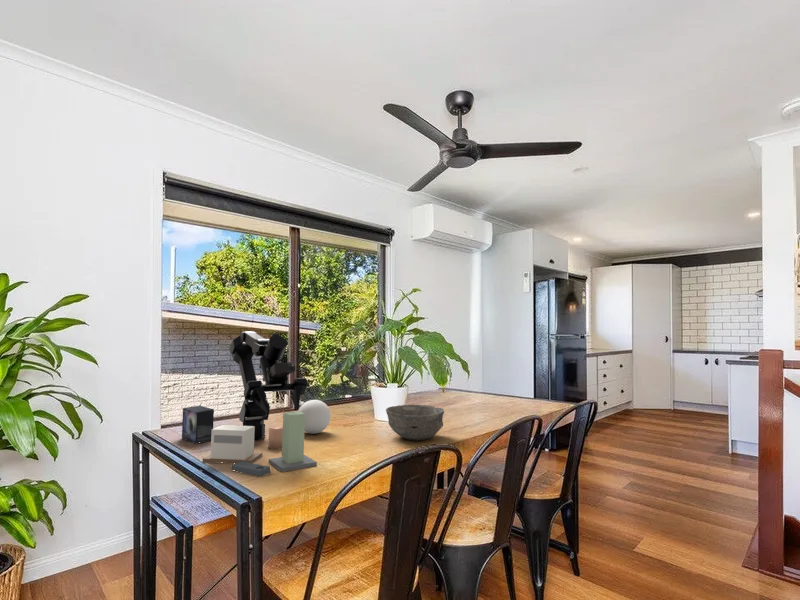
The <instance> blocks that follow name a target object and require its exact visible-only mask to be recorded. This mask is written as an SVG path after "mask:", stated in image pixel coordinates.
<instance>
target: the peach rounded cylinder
mask: <svg viewBox="0 0 800 600" xmlns="http://www.w3.org/2000/svg"><path fill="white" fill-rule="evenodd" d="M282 438H283V425H278V426H277V425H276V426H271V427H269V428H268V449H271V450H279V448H280V449H282Z"/></svg>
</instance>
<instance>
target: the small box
mask: <svg viewBox="0 0 800 600" xmlns="http://www.w3.org/2000/svg"><path fill="white" fill-rule="evenodd" d="M214 415H215V409H214V408H210V407H207V406H203V405H196V406H195V405H194V406H187V407H183V408H182V420H181V421H182V423H181V424H182V425H181V439H183V438H184V439H183V440H185V439H186V441H188V440H189V441H188V442H190V441H191V442H190V443H193V442H194V443H193V444H195V443H197V444H200V443H199V442H202V443H206V441H207V442H211V432H212V429H214V419H215V417H214Z"/></svg>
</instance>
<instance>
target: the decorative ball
mask: <svg viewBox="0 0 800 600" xmlns="http://www.w3.org/2000/svg"><path fill="white" fill-rule="evenodd" d="M298 411H299V412H302V413H304V414H305V424H304V433H306V434H307V433H308V434H311V435H313V434H319V433H321V432H323V431H325V429H326V428H328V427H329V424H330V422H331V418H332V417H331V416H332V415H331V410H330V408H329V406H328V405H327V404H326V403H325V402H324V401H322V400H320V399H319V400H318V399H310V400H307V401H305V402H304V403H303V404H301V406H299V410H298Z"/></svg>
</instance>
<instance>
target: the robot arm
mask: <svg viewBox="0 0 800 600" xmlns="http://www.w3.org/2000/svg"><path fill="white" fill-rule="evenodd" d="M287 346H288V340H287V339H286V338H284V337H283V336H282V335H280V334H279V333H272V334H271V336H270V337H269V338H265V337H263V336H261V335H259V334H258V333H257V332H255V331H253V330H252V331H248V330H247V331H244V330H243V331H241V332H240V334H239V335H238V336H237V337H235V338H234V339H233V340H232V342H231V343H230V346H229V353H230V354H231V357H232V360H233V361H234V362H235V363H236V364H238V367H239V373H240V375H241V381H242V384H243V385H242V386H243V389H244V390H243V398H244V401H243V403H242V406H241V408H240V410H239V414H238V418H239V421H240V422H242V426H255V431H254V442H255V441H260V440H262V439H263V438H265V437H266V424H265V421H268V420H269V415H270V409H271V406H270V402H269V401H268V397H267V394H266V393H268V392H274V393H275V392H288V391H289V392H290V394H291V396H290V397H291V400H292V403H293V405H294V408H295V410H296V411H299V408H300V400H301V396H302V395H304V394H305V392H306V391H307V389H308V386H309V382H308V379H307V378H305V377H302V378H301V377H300V378H296V377H295V378H294V379H293V381H292V382H291V383H286V382H287V381H288V379H289V377H288V376H289V375H290V374H293V373H295V372H296V364H295V363H294V361H288V362H281V363H280V361H279V360H281V359H282V358H283V356H284V354H285V352H286V349H287ZM254 356H255V357H260V358H259V369H261V372H262V376H263V377H262V380H260V379H259V380H257V376H256V375H257V374H256V371H255V367H254V364H253V358H254ZM262 382H264V383H265V384H263V383H262Z"/></svg>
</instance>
